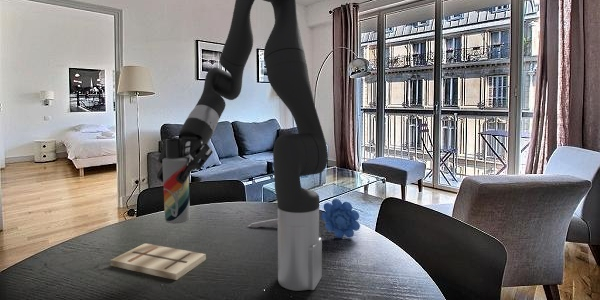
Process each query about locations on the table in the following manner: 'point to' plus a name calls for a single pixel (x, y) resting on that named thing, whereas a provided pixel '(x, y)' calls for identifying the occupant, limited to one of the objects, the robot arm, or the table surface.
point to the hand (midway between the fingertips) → (169, 180)
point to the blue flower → (340, 218)
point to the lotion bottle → (175, 183)
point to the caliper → (264, 223)
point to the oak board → (159, 261)
